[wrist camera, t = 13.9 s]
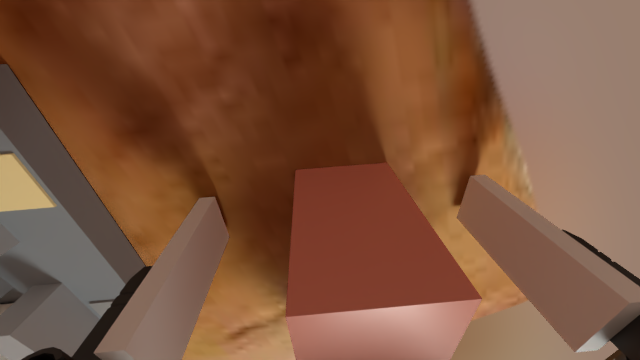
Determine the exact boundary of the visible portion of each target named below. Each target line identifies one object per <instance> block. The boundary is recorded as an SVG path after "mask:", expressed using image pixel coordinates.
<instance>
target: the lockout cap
mask: <svg viewBox="0 0 640 360" xmlns="http://www.w3.org/2000/svg"><path fill="white" fill-rule="evenodd" d="M481 300H482V298H481V296H480V295H479V294H478V292H477V291H476V289H475V288H474V286H473V285H472V284H471V282H470V281H469V279H468V278H467V276H466V275H465V274H464V272H463V271H462V269H461V268H460V266H459V265H458V264H457V262H456V261H455V259H454V258H453V256H452V255H451V254H450V252H449V251H448V249H447V248H446V246H445V245H444V244H443V242H442V241H441V239H440V238H439V236H438V235H437V234H436V232H435V231H434V229H433V228H432V226H431V225H430V223H429V222H428V221H427V219H426V218H425V216H424V215H423V213H422V212H421V211H420V209H419V208H418V206H417V205H416V203H415V202H414V201H413V199H412V198H411V196H410V195H409V193H408V192H407V191H406V189H405V188H404V186H403V185H402V183H401V182H400V181H399V179H398V178H397V176H396V175H395V173H394V172H393V171H392V169H391V168H390V166H389V165H388V163H375V164H363V165H350V166H337V167H325V168H312V169H299V170H296V171H295V186H294V200H293V215H292V230H291V245H290V259H289V274H288V289H287V304H286V321H287V325H288V329H289V333H290V337H291V341H292V345H293V349H294V353H295V357H296V360H450V359H451V357H452V355H453V353H454V351H455V349H456V347H457V346H458V344H459V342H460V340H461V338H462V336H463V334H464V332H465V331H466V329H467V326H468V325H469V323H470V321H471V319H472V317H473V315H474V314H475V312H476V310H477V308H478V306H479V304H480V302H481Z"/></svg>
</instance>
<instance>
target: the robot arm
mask: <svg viewBox="0 0 640 360" xmlns="http://www.w3.org/2000/svg"><path fill="white" fill-rule="evenodd" d="M457 218H458V220H459V221H460V222H461V223H462V224H463V225H464V226H465V228H466V229H467V230H468V231H469V232H470V233H471V234H472V236H473V237H474V238H475V239H476V240H477V241H478V242H479V244H480V245H481V246H482V247H483V248H484V249H485V250H486V252H487V253H488V254H489V255H490V256H491V257H492V258H493V260H494V261H495V262H496V263H497V264H498V265H499V266H500V268H501V269H502V270H503V271H504V272H505V273H506V274H507V276H508V277H509V278H510V279H511V280H512V281H513V282H514V284H515V285H516V286H517V287H518V288H519V289H520V290H521V292H522V293H523V294H524V295H525V296H526V297H527V298H528V300H529V301H530V302H531V303H532V304H533V305H534V306H535V307H536V309H537V310H538V311H539V312H540V313H541V314H542V315H543V317H544V318H545V319H546V320H547V321H548V322H549V323H550V325H551V326H552V327H553V328H554V329H555V330H556V331H557V333H558V334H559V335H560V336H561V337H562V338H563V339H564V341H565V342H566V343H567V344H568V345H569V346H570V347H571V349H572V350H573V351H574V352H583V351H595V350H599V349H600V348H601V347H602V346H604V345H605V344H606V343H607V342H608V341H611V342H612V343H613V344H614V345H615V346H616V347H617V348H618V349H619V350H617V351H616V352H615V353H613V354H612V355H611V356H609V357H608V358H607V359H606V360H640V279H639V278H637V277H636V276H634V275H633V274H632V273H630V272H629V271H627V270H626V269H624V268H623V267H621V266H620V265H619V264H617V263H616V262H612V261H611V259H610V258H609V257H607V256H606V255H604V254H603V253H602V252H598V250H597V249H596V248H594V247H593V246H592V245H590V244H589V243H587V242H586V241H584V240H583V239H582V238H579V237H577V236H575V235H573V234H571V233H569V232H567V231H565V230H560V229H559V228H558V227H557V226H555V225H554V224H552V223H551V222H549V221H548V220H547V219H546V218H544V217H543V216H541V215H540V214H539V213H537V212H536V211H534V210H533V209H532V208H530V207H529V206H528V205H526V204H525V203H523V202H522V201H521V200H519V199H518V198H517V197H515V196H514V195H512V194H511V193H510V192H508V191H507V190H505V189H504V188H503V187H501V186H500V185H499V184H497V183H496V182H494V181H493V180H492V179H490V178H489V177H488V176H486V175H475V176H470V178H469V181H468V184H467V187H466V190H465V193H464V197H463V200H462V203H461V206H460V209H459V212H458V215H457ZM228 240H229V234H228V231H227V229H226V226H225V223H224V220H223V218H222V215H221V212H220V209H219V207H218V204H217V201H216V198H215V197H205V198H199V199H198V201H197V202H196V204H195V205H194V207H193V208H192V210H191V211H190V213H189V214H188V215H187V217H186V218H185V220H184V221H183V223H182V224H181V226H180V227H179V229H178V230H177V232H176V233H175V234H174V236H173V237H172V239H171V240H170V242H169V243H168V245H167V246H166V248H165V249H164V251H163V252H162V253H161V255H160V256H159V258H158V259H157V261H156V262H155V264H154V265H153V266H147V267H143V268H142V269H141V270H140V271H139V272H137V273H136V274H135V275H134V276H133V277H132V278H130V280H129V281H128V282H127V284H126V285H125V286H124V288H123V289H122V290H121V292H120V295H119V296H117V297H116V298H115V300H114V301H113V302H112V304H111V307H110V308H108V309H107V310H106V312H105V313H104V314H103V316H102V317H101V318H100V320H99V321H98V322H97V324H96V325H95V326H94V328H93V329H92V331H91V332H90V333H89V335H88V336H87V337H86V339H85V340H84V341H83V343H82V344H81V345H80V347H79V348H78V349H77V351H76V352H75V353H74V355H73V356H72V357H70V356H69V355H68V354H66V353H65V352H63V351H62V350H61V349H58V348H55V347H50V348H44V349H41V350H38V351H36V352H34V353H32V354H30V355H27V356H26V357H24V358H23V359H21V360H182V357H183V355H184V352H185V350H186V347H187V345H188V342H189V339H190V337H191V334H192V332H193V329H194V327H195V324H196V322H197V319H198V316H199V314H200V311H201V309H202V306H203V304H204V301H205V298H206V296H207V293H208V291H209V288H210V286H211V283H212V281H213V278H214V275H215V273H216V270H217V268H218V265H219V263H220V260H221V257H222V255H223V252H224V250H225V247H226V245H227V242H228Z"/></svg>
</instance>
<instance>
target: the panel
mask: <svg viewBox="0 0 640 360" xmlns="http://www.w3.org/2000/svg"><path fill="white" fill-rule="evenodd" d="M143 267H146V266H145V265H144V263H143V262H142V260H141V259H140V257H139V256H138V254H137V253H136V252H135V250H134V249H133V247H132V246H131V244H130V243H129V241H128V240H127V238H126V237H125V235H124V234H123V233H122V231H121V230H120V228H119V227H118V225H117V224H116V222H115V221H114V219H113V218H112V217H111V215H110V214H109V212H108V211H107V209H106V208H105V206H104V205H103V203H102V202H101V201H100V199H99V198H98V196H97V195H96V193H95V192H94V190H93V189H92V187H91V186H90V184H89V183H88V182H87V180H86V179H85V177H84V176H83V174H82V173H81V171H80V170H79V168H78V167H77V166H76V164H75V163H74V161H73V160H72V158H71V157H70V155H69V154H68V152H67V151H66V150H65V148H64V147H63V145H62V144H61V142H60V141H59V139H58V138H57V136H56V135H55V133H54V132H53V131H52V129H51V128H50V126H49V125H48V123H47V122H46V120H45V119H44V117H43V116H42V115H41V113H40V112H39V110H38V109H37V107H36V106H35V104H34V103H33V101H32V100H31V99H30V97H29V96H28V94H27V93H26V91H25V90H24V88H23V87H22V85H21V84H20V83H19V81H18V80H17V78H16V77H15V75H14V74H13V72H12V71H11V69H10V68H9V66H8V65H7V64H0V304H11V303H13V304H12V305H11V306H10V307H9V308H8V309H6V310H5V311H4V312H3V313H2V314H1V315H0V355H2V356H4V357H5V358H7V359H9V360H21V359H23V358H24V357H26V356H27V355H30V354H32V353H34V352H36V351H38V350H41V349H44V348H50V347H55V348H58V349H61V350H62V351H63V352H65V353H66V354H68V355H69V356H70V357H72V356H73V355H74V353H75V352H76V351H77V349H78V348H79V347H80V345H81V344H82V343H83V341H84V340H85V339H86V337H87V336H88V335H89V333H90V332H91V331H92V329H93V328H94V326H95V325H96V324H97V322H98V321H99V320H100V318H101V317H102V316H103V314H104V313H105V312H106V310H107V309H108V308H110V307H111V304H112V302H113V301H114V300H115V298H116V297H117V296H119V295H120V292H121V290H122V289H123V288H124V286H125V285H126V284H127V282H128V281H129V280H130V278H132V277H133V276H134V275H135V274H136V273H137V272H139V271H140V270H141V269H142V268H143Z"/></svg>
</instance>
